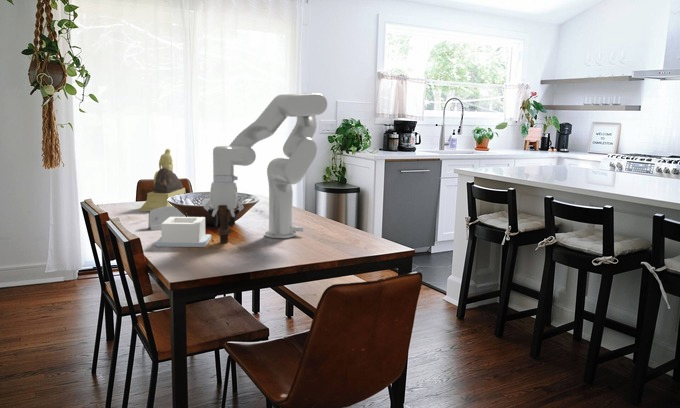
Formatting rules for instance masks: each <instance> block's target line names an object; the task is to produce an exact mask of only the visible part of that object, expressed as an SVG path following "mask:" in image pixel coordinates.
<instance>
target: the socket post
mask: <svg viewBox="0 0 680 408" xmlns="http://www.w3.org/2000/svg"><path fill="white" fill-rule="evenodd" d="M211 239H212V234H211V233H210V234H209V233H207V234H206V216H187V217H169V218H168V219H166V220H165V221H164V222H163V223H161V236H160V238H159V239H157V240H156V241H155V247H162V248H163V247H164V248H165V247H167V248H169V247H170V248H171V247H172V248H173V247H179V248H180V247H181V248H186V247H187V248H189V247H190V248H195V247H197V248H198V247H199V248H206V246H207V245H208V243H210V241H211Z"/></svg>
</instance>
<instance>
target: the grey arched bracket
mask: <svg viewBox="0 0 680 408" xmlns="http://www.w3.org/2000/svg"><path fill="white" fill-rule="evenodd" d="M169 217H186V216H185V215H183V214H182V213H181V212H180V211H179V210H178V209H177V208H175V207H173V206H167V207H160V208H157V209H154V210H152V211H150V212H148V229H150V231H160V230H161V223H163V222H164V221H165V220H166V219H168V218H169Z"/></svg>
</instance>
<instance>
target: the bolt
mask: <svg viewBox="0 0 680 408" xmlns="http://www.w3.org/2000/svg"><path fill="white" fill-rule="evenodd" d="M218 211H219V227H218V229H217V234H218V235H219V243H222V244H227V243H228V242H229V235H230V234H231V227H230V228H229V209H228V208H227V205H219V206H218Z"/></svg>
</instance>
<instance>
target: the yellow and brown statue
mask: <svg viewBox="0 0 680 408" xmlns="http://www.w3.org/2000/svg"><path fill="white" fill-rule="evenodd" d="M158 168H159V170H156V172H155V173H154V176H153V191H149V192H147V193H146V194H147V196H146V200H145V202H144V204H142V206H141V207H140V209H139V210H140V212H143V211H152V210H154V209H157V208H160V207H167V206H171V205H170V204H169V203H168V201H167V199H168V198H169V197H171V196H175V195H178V194H184V193H186V187H184V185H183V183H182V181H181V180H180V179H179V178H178V176H177V175H176V173H174V170H173V168H174V163H173V158H172V155H171V149H170V148H166V149H165V150H164V153H162V154H161V155H160V157H159V161H158Z"/></svg>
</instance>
